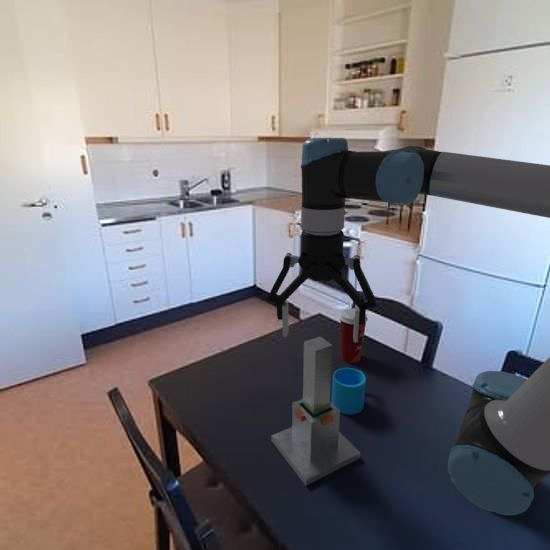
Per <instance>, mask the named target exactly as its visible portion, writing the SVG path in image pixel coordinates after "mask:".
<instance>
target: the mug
mask: <svg viewBox="0 0 550 550" xmlns="http://www.w3.org/2000/svg"><path fill="white" fill-rule="evenodd" d="M366 379H367V377H366V373H365V372H364V371H362V370H359V369H356V368H353V367H352V368H351V367H342V368H338V369H337V370H335V371H334V373H333V374H332V387H331V403H332V404H333V405H334V406H335V407H337V408H338V409H339V410H340V414H343V415H349V416H350V415H356V414H359V413H361V412H362V411H363V409H364V405H365V394H366V384H367V383H366Z"/></svg>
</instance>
